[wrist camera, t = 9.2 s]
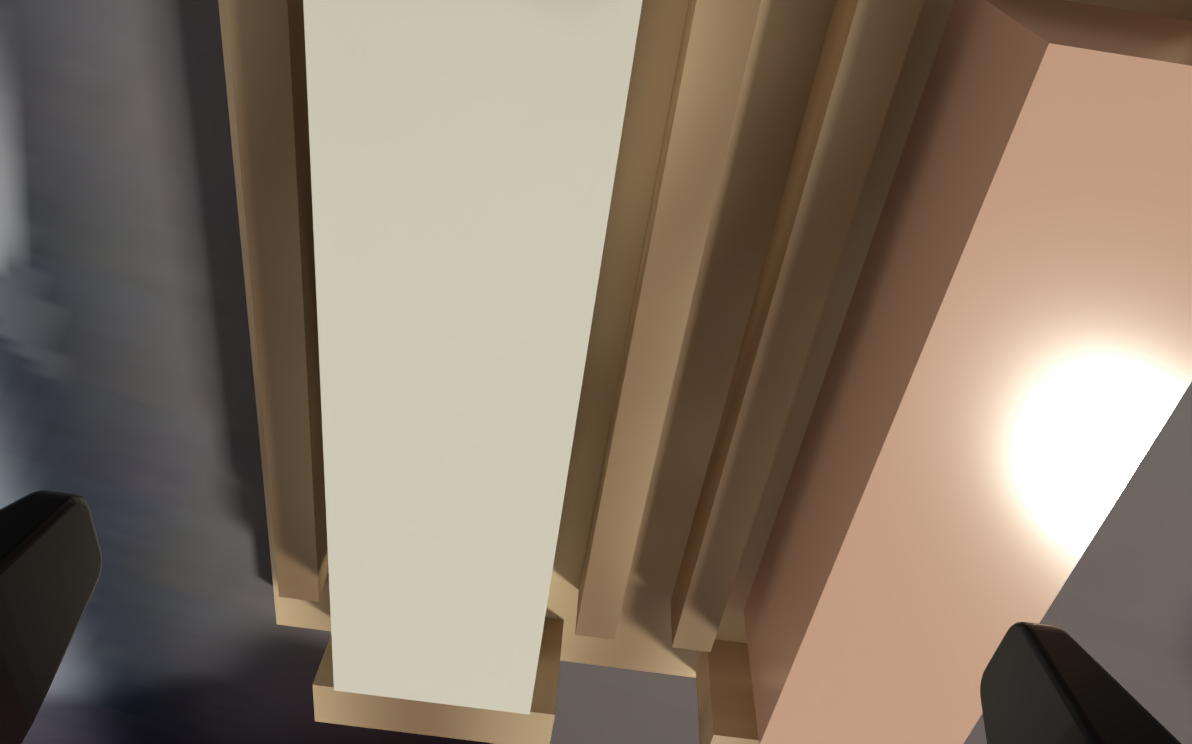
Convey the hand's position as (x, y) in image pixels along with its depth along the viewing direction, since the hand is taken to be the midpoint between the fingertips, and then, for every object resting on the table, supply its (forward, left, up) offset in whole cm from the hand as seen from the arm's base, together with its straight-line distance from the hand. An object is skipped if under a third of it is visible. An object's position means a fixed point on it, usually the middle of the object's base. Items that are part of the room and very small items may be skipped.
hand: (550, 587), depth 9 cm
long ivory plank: (+2, +4, -11) cm, 11 cm away
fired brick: (-8, +4, -11) cm, 14 cm away
